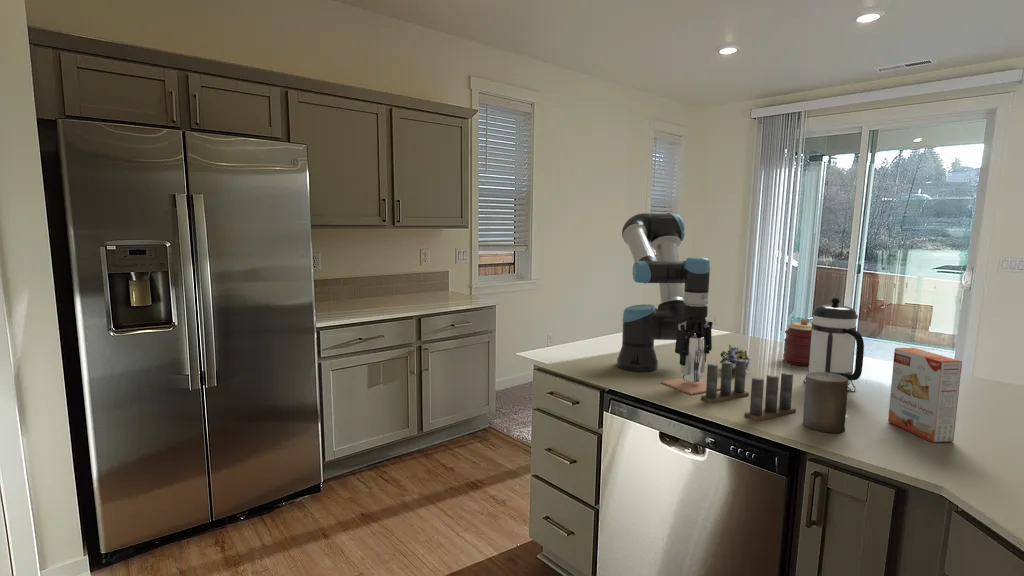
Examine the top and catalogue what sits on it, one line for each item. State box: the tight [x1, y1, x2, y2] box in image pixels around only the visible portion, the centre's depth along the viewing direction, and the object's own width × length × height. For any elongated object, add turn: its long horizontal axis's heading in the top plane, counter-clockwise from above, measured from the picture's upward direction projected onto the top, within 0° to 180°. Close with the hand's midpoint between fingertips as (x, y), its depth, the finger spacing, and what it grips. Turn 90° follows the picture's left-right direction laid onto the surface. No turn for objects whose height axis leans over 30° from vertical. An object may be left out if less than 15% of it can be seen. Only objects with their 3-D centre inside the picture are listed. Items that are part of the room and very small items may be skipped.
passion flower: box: [719, 344, 751, 371], centre depth 189 cm, size 11×11×12 cm
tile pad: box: [660, 377, 721, 396], centre depth 171 cm, size 14×14×1 cm
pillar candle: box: [802, 372, 849, 434], centre depth 136 cm, size 10×10×15 cm
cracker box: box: [887, 347, 963, 443], centre depth 132 cm, size 14×6×21 cm, turn 5°
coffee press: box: [802, 297, 865, 392], centre depth 168 cm, size 17×16×30 cm
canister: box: [782, 318, 812, 367], centre depth 201 cm, size 13×13×18 cm
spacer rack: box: [700, 360, 797, 422], centre depth 152 cm, size 20×16×11 cm
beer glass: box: [682, 334, 705, 383], centre depth 170 cm, size 7×7×15 cm
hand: (692, 373), depth 171 cm, fingers closed on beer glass, 6 cm apart
